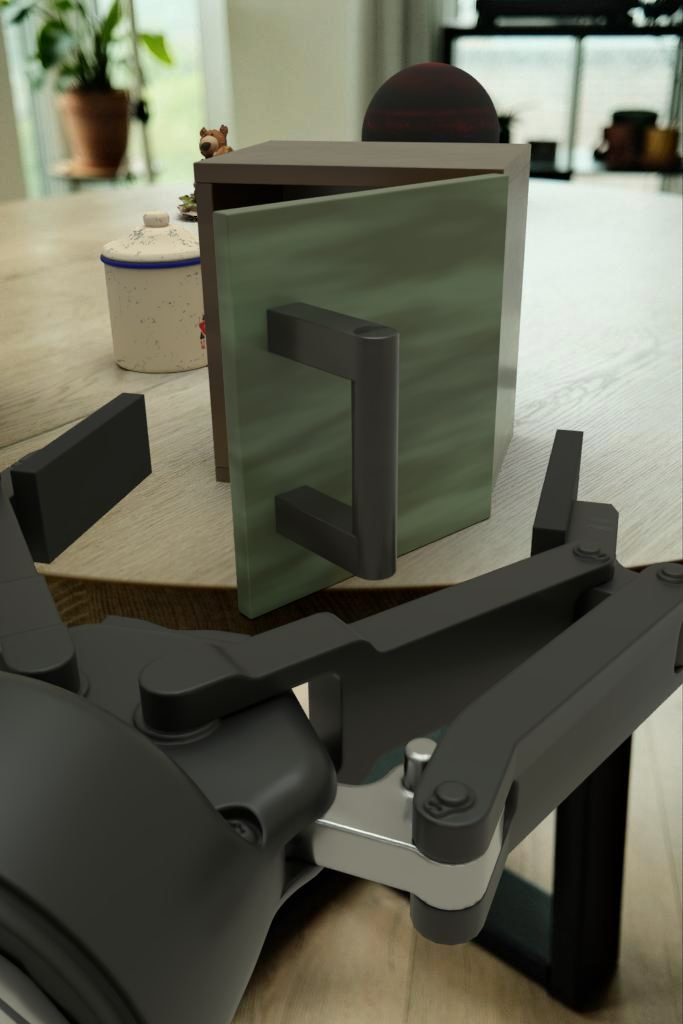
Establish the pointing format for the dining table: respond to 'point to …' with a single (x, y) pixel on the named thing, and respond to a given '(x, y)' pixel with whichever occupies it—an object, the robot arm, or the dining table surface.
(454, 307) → the door
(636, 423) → the dining table surface
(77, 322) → the dining table surface
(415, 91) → the decorative orb
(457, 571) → the dining table surface
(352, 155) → the cupboard
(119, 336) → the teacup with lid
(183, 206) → the bear figurine
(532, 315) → the dining table surface
